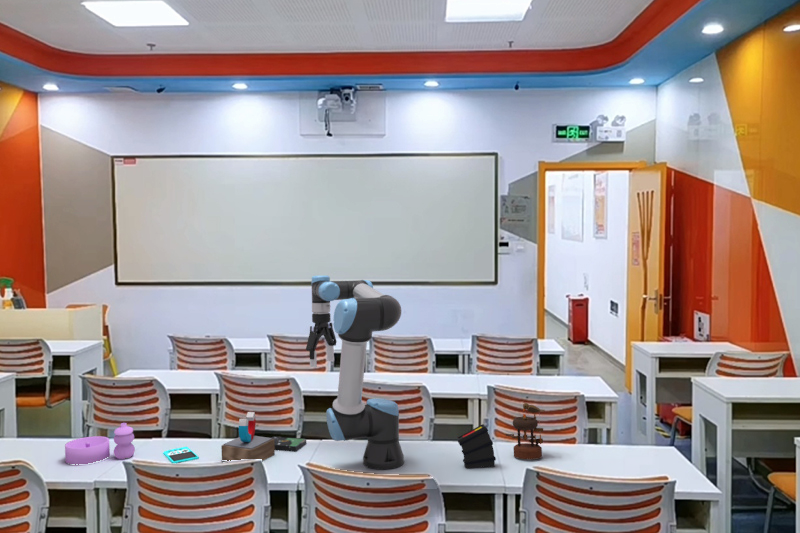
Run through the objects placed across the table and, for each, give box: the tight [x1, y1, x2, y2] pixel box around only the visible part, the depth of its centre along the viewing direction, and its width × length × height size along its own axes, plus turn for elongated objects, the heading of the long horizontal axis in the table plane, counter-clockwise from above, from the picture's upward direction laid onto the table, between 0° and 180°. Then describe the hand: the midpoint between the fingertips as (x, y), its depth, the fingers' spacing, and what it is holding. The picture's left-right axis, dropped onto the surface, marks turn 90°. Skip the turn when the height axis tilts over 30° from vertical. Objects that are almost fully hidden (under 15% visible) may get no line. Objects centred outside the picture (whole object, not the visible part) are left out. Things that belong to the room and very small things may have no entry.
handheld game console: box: [162, 446, 200, 464], centre depth 244 cm, size 10×16×1 cm, turn 35°
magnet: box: [238, 411, 257, 442], centre depth 240 cm, size 12×3×10 cm, turn 175°
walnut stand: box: [221, 435, 276, 461], centre depth 241 cm, size 14×14×6 cm
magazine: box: [457, 423, 497, 469], centre depth 228 cm, size 4×13×15 cm, turn 96°
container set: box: [64, 422, 136, 466], centre depth 243 cm, size 25×15×13 cm, turn 95°
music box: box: [505, 402, 546, 460], centre depth 238 cm, size 15×11×20 cm
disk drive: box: [271, 436, 307, 453], centre depth 254 cm, size 10×3×15 cm
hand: (322, 364), depth 261 cm, fingers open, 13 cm apart
